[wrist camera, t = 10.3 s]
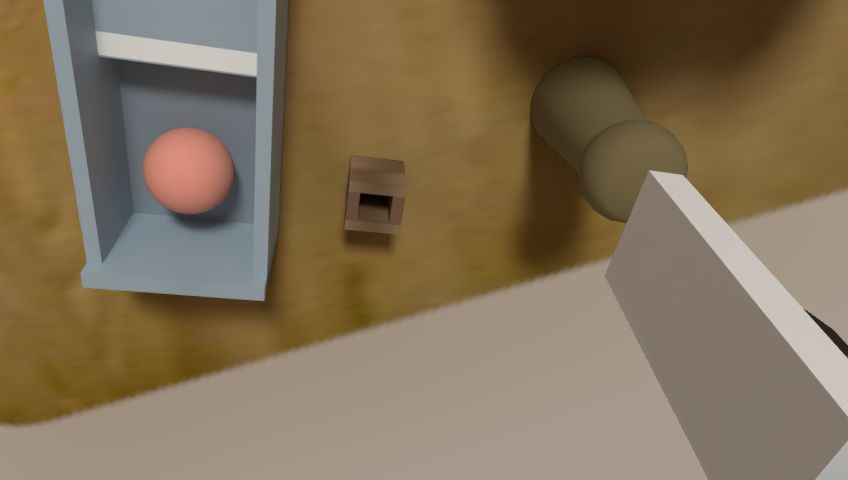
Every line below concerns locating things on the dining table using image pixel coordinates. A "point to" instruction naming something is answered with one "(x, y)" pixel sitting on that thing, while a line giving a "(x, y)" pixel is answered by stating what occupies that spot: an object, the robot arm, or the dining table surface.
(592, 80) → the cork
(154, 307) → the dining table surface
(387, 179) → the hollow square tube
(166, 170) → the ball
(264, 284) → the long open box
